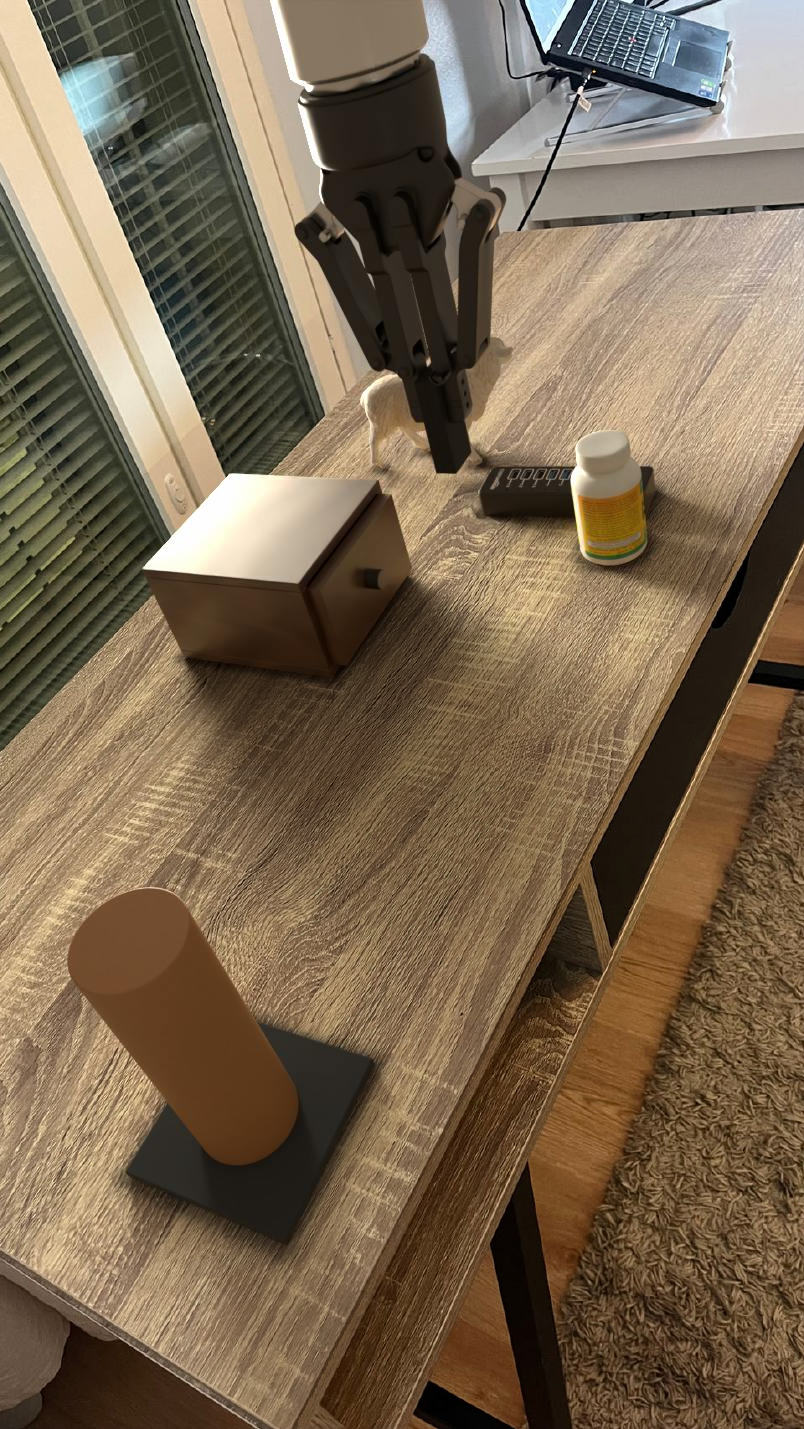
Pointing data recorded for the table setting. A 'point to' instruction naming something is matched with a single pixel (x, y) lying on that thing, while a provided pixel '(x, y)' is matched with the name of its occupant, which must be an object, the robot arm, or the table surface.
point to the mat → (282, 1179)
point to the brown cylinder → (184, 1023)
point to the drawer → (359, 578)
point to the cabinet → (256, 569)
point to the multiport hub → (539, 491)
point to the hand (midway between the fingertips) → (454, 462)
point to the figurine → (393, 412)
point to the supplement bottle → (608, 499)
